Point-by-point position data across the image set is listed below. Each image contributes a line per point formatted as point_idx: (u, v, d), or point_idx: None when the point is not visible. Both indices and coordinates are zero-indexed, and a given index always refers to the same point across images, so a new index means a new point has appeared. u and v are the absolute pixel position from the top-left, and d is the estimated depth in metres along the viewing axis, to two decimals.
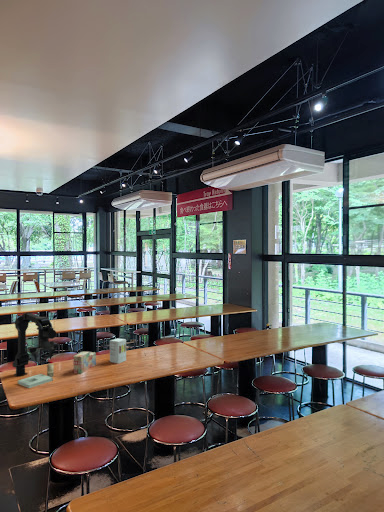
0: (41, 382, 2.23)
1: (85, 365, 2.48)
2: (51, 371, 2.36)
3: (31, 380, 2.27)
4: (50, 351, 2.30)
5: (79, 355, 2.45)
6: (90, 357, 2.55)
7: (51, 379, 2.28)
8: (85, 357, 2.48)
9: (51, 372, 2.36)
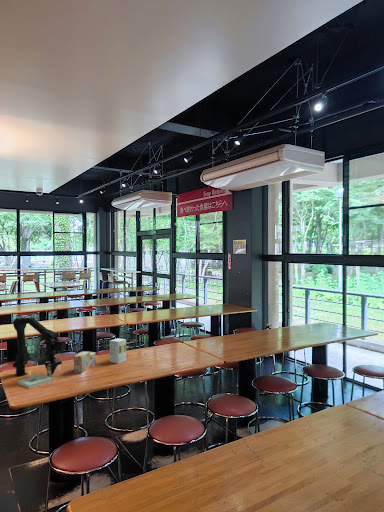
0: (41, 382, 2.23)
1: (85, 365, 2.48)
2: None
3: (31, 380, 2.27)
4: None
5: (79, 355, 2.46)
6: (90, 357, 2.56)
7: (51, 379, 2.28)
8: (85, 357, 2.48)
9: None
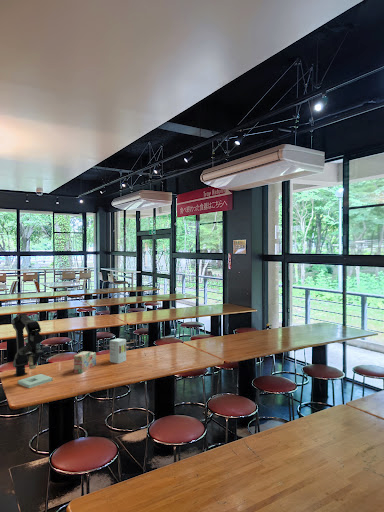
0: (41, 382, 2.23)
1: (85, 365, 2.48)
2: None
3: (31, 380, 2.27)
4: None
5: (79, 355, 2.46)
6: (90, 357, 2.56)
7: (51, 379, 2.28)
8: (85, 357, 2.49)
9: None
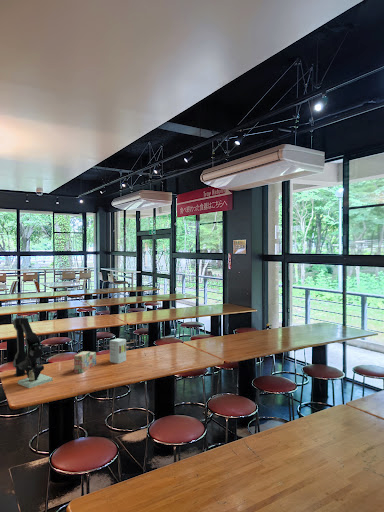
0: (41, 382, 2.23)
1: (86, 365, 2.49)
2: (33, 377, 2.24)
3: None
4: None
5: (80, 355, 2.46)
6: (90, 357, 2.56)
7: (51, 379, 2.28)
8: (86, 357, 2.49)
9: (33, 378, 2.24)
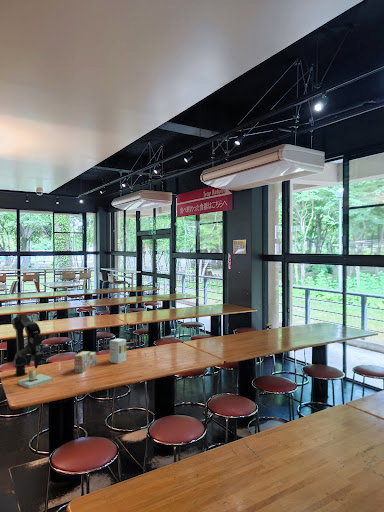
0: (41, 382, 2.23)
1: (86, 364, 2.49)
2: (33, 377, 2.24)
3: None
4: None
5: (80, 355, 2.47)
6: (91, 357, 2.57)
7: (51, 379, 2.28)
8: (86, 357, 2.49)
9: (33, 378, 2.24)
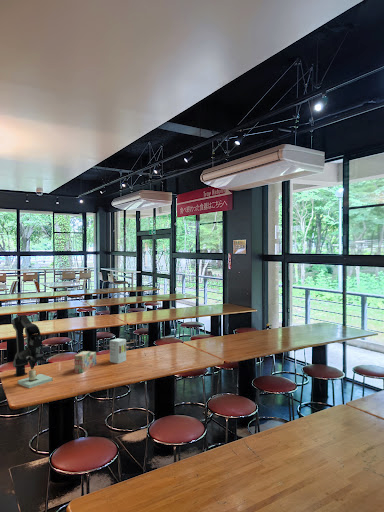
0: (41, 382, 2.23)
1: (86, 364, 2.49)
2: (33, 377, 2.24)
3: None
4: None
5: (80, 355, 2.47)
6: (91, 356, 2.57)
7: (51, 379, 2.28)
8: (86, 356, 2.49)
9: (33, 378, 2.24)
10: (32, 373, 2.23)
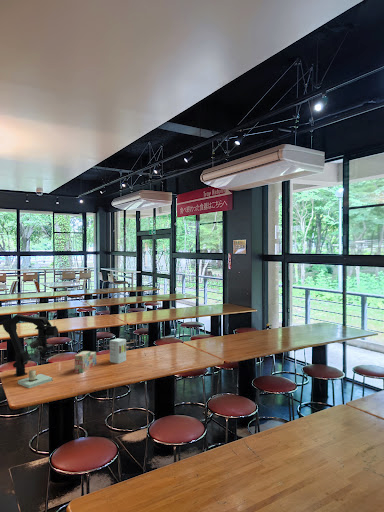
0: (41, 382, 2.23)
1: (86, 364, 2.49)
2: (33, 377, 2.24)
3: None
4: None
5: (80, 354, 2.47)
6: (91, 356, 2.57)
7: (51, 379, 2.28)
8: (86, 356, 2.49)
9: (33, 378, 2.24)
10: (32, 373, 2.23)
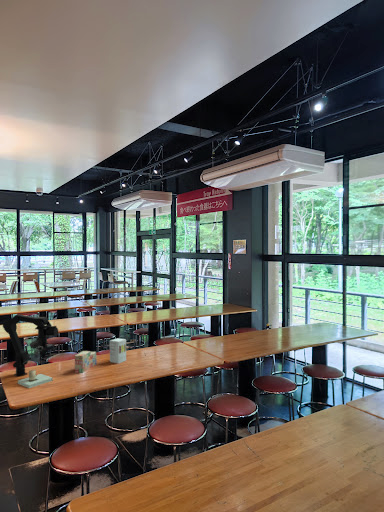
0: (41, 382, 2.23)
1: (86, 364, 2.49)
2: (33, 377, 2.24)
3: None
4: None
5: (80, 354, 2.47)
6: (91, 356, 2.57)
7: (51, 379, 2.28)
8: (86, 356, 2.50)
9: (33, 378, 2.24)
10: (32, 373, 2.23)
